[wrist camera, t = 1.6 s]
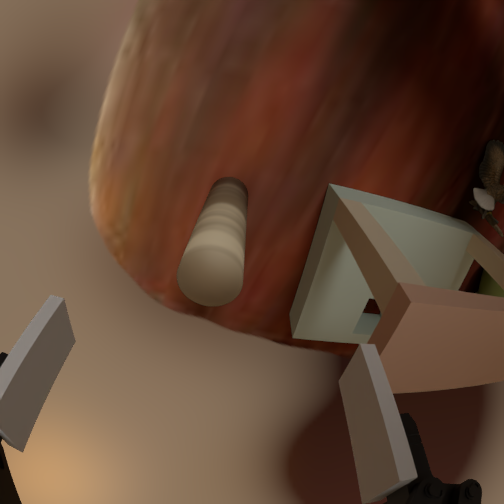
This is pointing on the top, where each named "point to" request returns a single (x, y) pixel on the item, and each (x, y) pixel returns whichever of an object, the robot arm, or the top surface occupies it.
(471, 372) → the beige arch frame
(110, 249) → the top surface
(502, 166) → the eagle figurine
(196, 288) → the peg
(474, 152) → the top surface
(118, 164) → the top surface
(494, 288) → the pear
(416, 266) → the socket board
